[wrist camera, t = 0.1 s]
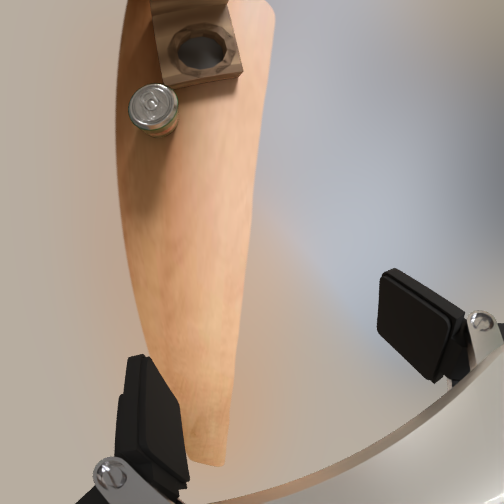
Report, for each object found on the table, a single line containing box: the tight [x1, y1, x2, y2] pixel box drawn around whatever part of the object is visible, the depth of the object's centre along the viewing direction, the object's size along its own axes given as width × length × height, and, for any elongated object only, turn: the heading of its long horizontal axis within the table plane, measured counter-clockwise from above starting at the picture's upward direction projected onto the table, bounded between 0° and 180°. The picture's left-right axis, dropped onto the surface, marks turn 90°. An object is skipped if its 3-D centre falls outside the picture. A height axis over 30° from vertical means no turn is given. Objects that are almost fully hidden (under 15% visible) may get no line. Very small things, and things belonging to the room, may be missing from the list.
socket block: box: [150, 0, 243, 90], centre depth 24 cm, size 14×10×12 cm
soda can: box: [128, 83, 178, 138], centre depth 27 cm, size 5×5×12 cm
